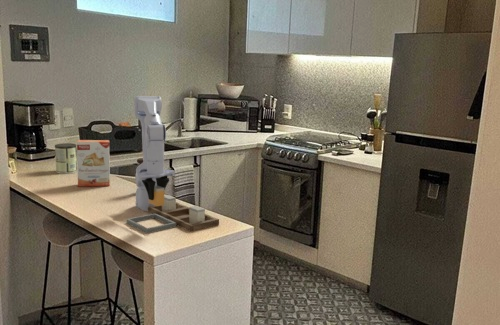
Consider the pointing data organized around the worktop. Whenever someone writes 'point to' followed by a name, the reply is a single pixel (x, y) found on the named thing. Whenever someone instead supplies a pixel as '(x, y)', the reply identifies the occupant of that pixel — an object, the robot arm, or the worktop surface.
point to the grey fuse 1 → (169, 203)
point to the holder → (183, 217)
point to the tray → (148, 230)
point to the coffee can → (66, 158)
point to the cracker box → (93, 163)
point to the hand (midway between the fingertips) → (155, 198)
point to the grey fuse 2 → (196, 214)
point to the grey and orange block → (158, 196)
